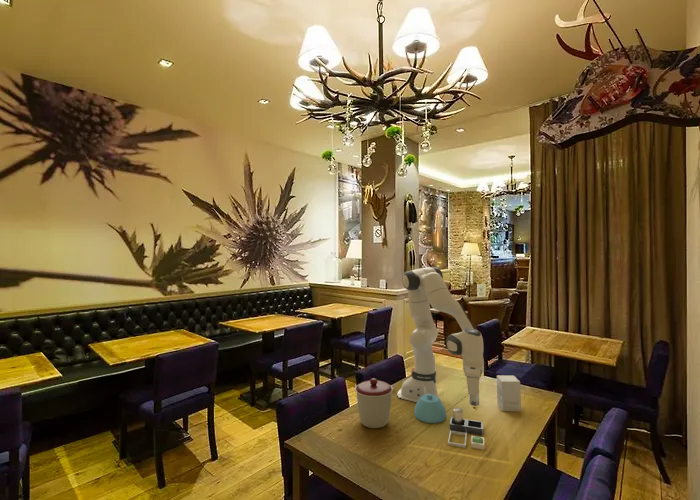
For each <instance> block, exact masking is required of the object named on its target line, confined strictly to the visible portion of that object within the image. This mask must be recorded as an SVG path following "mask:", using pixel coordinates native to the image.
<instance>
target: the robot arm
mask: <svg viewBox="0 0 700 500" xmlns="http://www.w3.org/2000/svg"><path fill="white" fill-rule="evenodd" d="M443 277H444V275H443V273H442V270H441V269H440V268H439V267H436V266H430V267H420V268H416V269H413V270H407V271H405V272H404V273H403V275H402V280H401V281H402V284H403V287H404V288H405V289H406V290H407V296H408V297H407V299H408V305H409V306H408V307H409V313H410V317H411V319H412V320H413V322H414V324H415V329H414V330H413V331H412V332H411V334H410V336H409V338H408V339H409V343H410V345H411V347H412V352H413V356H414V367H413V368H412V369H411V372H410V377H408V378H407V379H405V380H404V381H403V383H402V384H401V388H399V390H398V391H397V392H396V394H397V395H396V396H398V397H397V398H398V399H400V398H401V399H400V400H406V401H410V402H415V403H417V402H418V400H419V399H420V397H421V396H423V395H427V394H432V395H434V396H437V397H438V398H439V399H440V396H439V392H438V388H437V371H436V357H435V355H434V351H433V343H434V342H435V341H436V340H437V338H438V335H439V330H438V328H437V327H436V324H435V320H434V319H433V315H432V311H431V307H432V308H433V309H434V310H436V311H438V312H441V313H445V314H447V315H450V316H452V317H453V318H454V319H455V320H456V323H457V324H458V325H459V327H460V329H461V330H462V331H460V332H455V333H451V334H449V335H448V336H447V337H446V340H445V345H446V349H447V352H449V353H450V354H452V355H455V356H462V370H463V372H464V377H466V385H467V391H468V392H467V393H468V395H469V396H470V395H471V396H472V401H476V396H477V395H478V389H479V390H480V378H481V377H482V374H483V373H484V372H485V361H484V360H485V359H484V355H483V354H484V337H483V336H482V333H481V332H480V331H479V330H477V328H476V327H475V325H474V324H473V322H472V320H471V319H470V317H469V315H468V314H467V312H466V310H465V309H464V307H463V306H462V304H461V303H460V302H459V301H458V300H457V299H455V298H454V297H453V295H452V294H451V292H450V290H449V288H448V285H447V284H446V282H445V281H444V278H443Z"/></svg>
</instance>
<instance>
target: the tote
mask: <svg viewBox="0 0 700 500" xmlns="http://www.w3.org/2000/svg"><path fill="white" fill-rule="evenodd" d="M448 435H449V436H448V440H447V446H452V447H458V448H463V449H466V448H467V437H468V433H463V432H457V431H451V430H450V429H449V434H448ZM452 435H458V436H465V437H464V443H458V442H451V438H452V437H451V436H452Z"/></svg>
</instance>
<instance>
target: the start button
mask: <svg viewBox="0 0 700 500" xmlns="http://www.w3.org/2000/svg"><path fill="white" fill-rule="evenodd" d="M474 436H475V435H474ZM481 437H482V436H479V435H476V436H475V437H473V442H476V443H482V438H481ZM482 444H483V443H482Z"/></svg>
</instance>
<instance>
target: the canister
mask: <svg viewBox="0 0 700 500" xmlns="http://www.w3.org/2000/svg"><path fill="white" fill-rule="evenodd" d="M354 391H355V394H356V402H357V408H358V409H357V410H358V415H359V420H360V423H361V424H362V425H363V426H364V427H366V428H369V429H380V428H384V427H385V426H387V425H388V423H389V421H390V414H391V406H392V405H391V404H392V393H393V392H394V387H393V386H392V385H391V384H389V383H388V382H385V381H382V380H378V379H377V378H374V377H373V378H370V380H365V381H361V382H360V383H358V384H357V385H356V386H355V387H354Z"/></svg>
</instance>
